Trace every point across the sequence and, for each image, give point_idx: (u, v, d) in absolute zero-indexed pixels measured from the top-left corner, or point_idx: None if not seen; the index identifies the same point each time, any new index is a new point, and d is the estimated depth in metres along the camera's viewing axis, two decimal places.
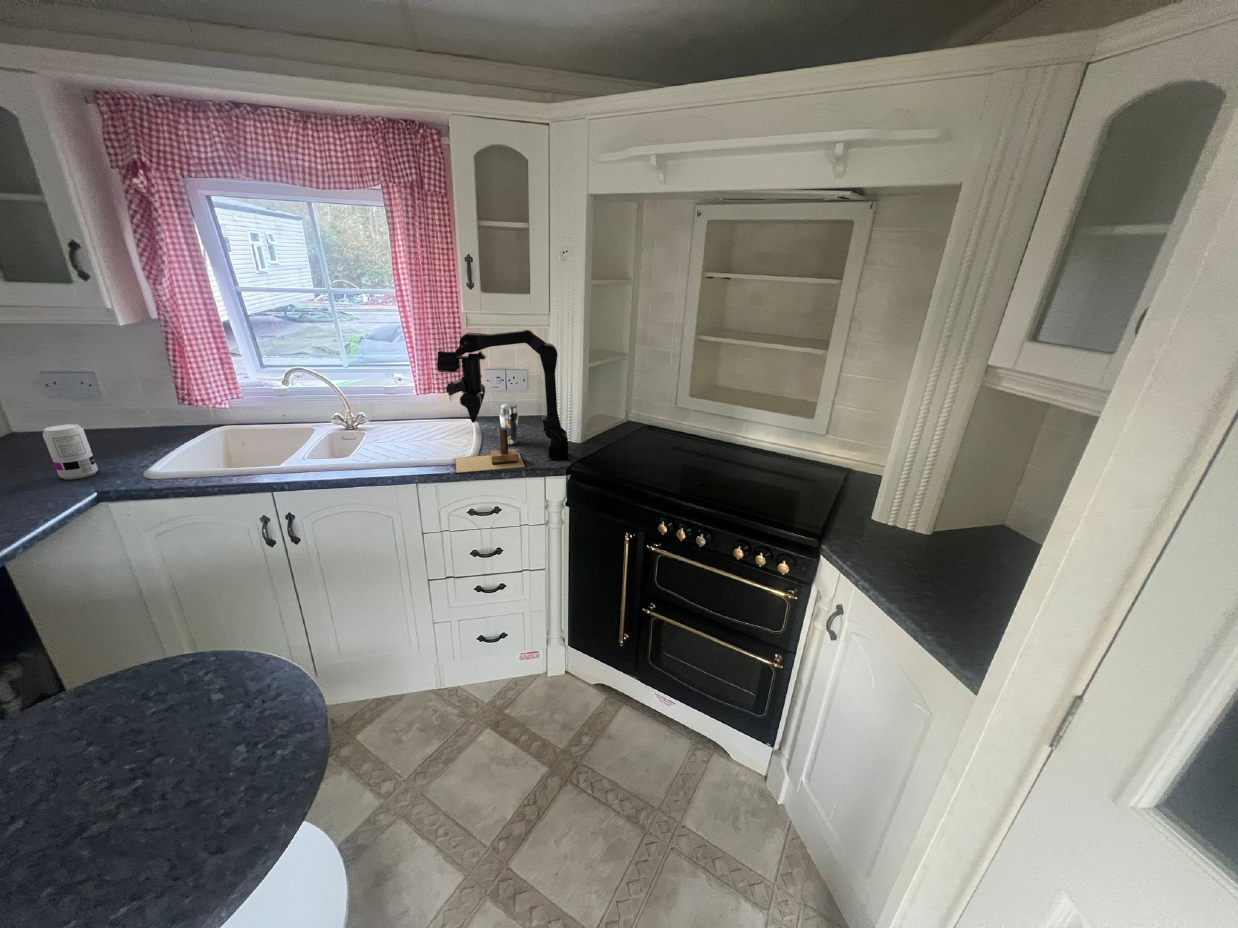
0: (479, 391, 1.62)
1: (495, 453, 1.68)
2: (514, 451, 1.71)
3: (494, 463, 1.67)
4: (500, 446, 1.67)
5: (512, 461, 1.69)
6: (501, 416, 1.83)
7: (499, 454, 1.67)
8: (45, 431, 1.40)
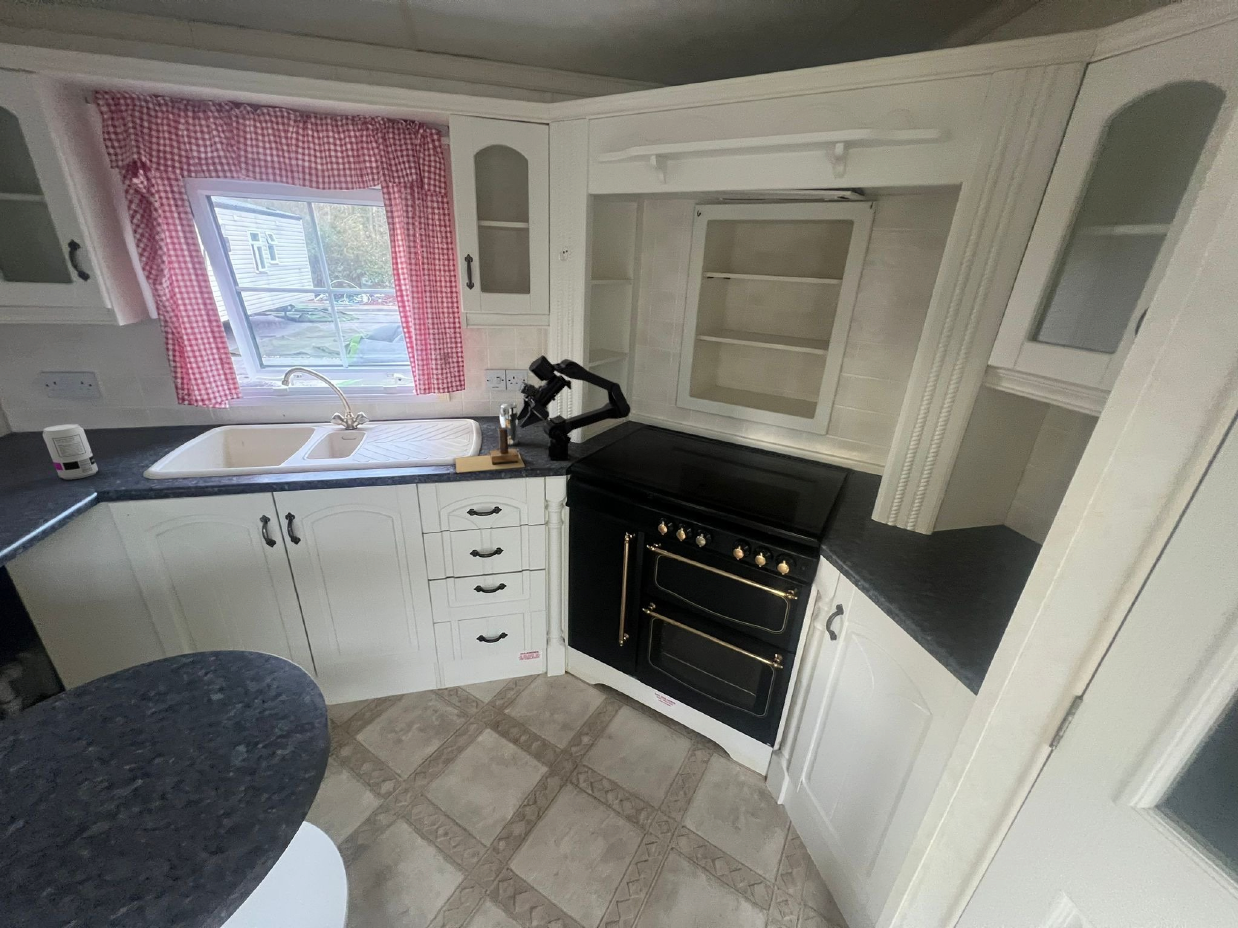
0: (545, 408, 1.66)
1: (495, 453, 1.68)
2: (514, 451, 1.71)
3: (494, 463, 1.67)
4: (500, 446, 1.67)
5: (512, 461, 1.69)
6: (501, 416, 1.83)
7: (499, 454, 1.67)
8: (45, 431, 1.40)
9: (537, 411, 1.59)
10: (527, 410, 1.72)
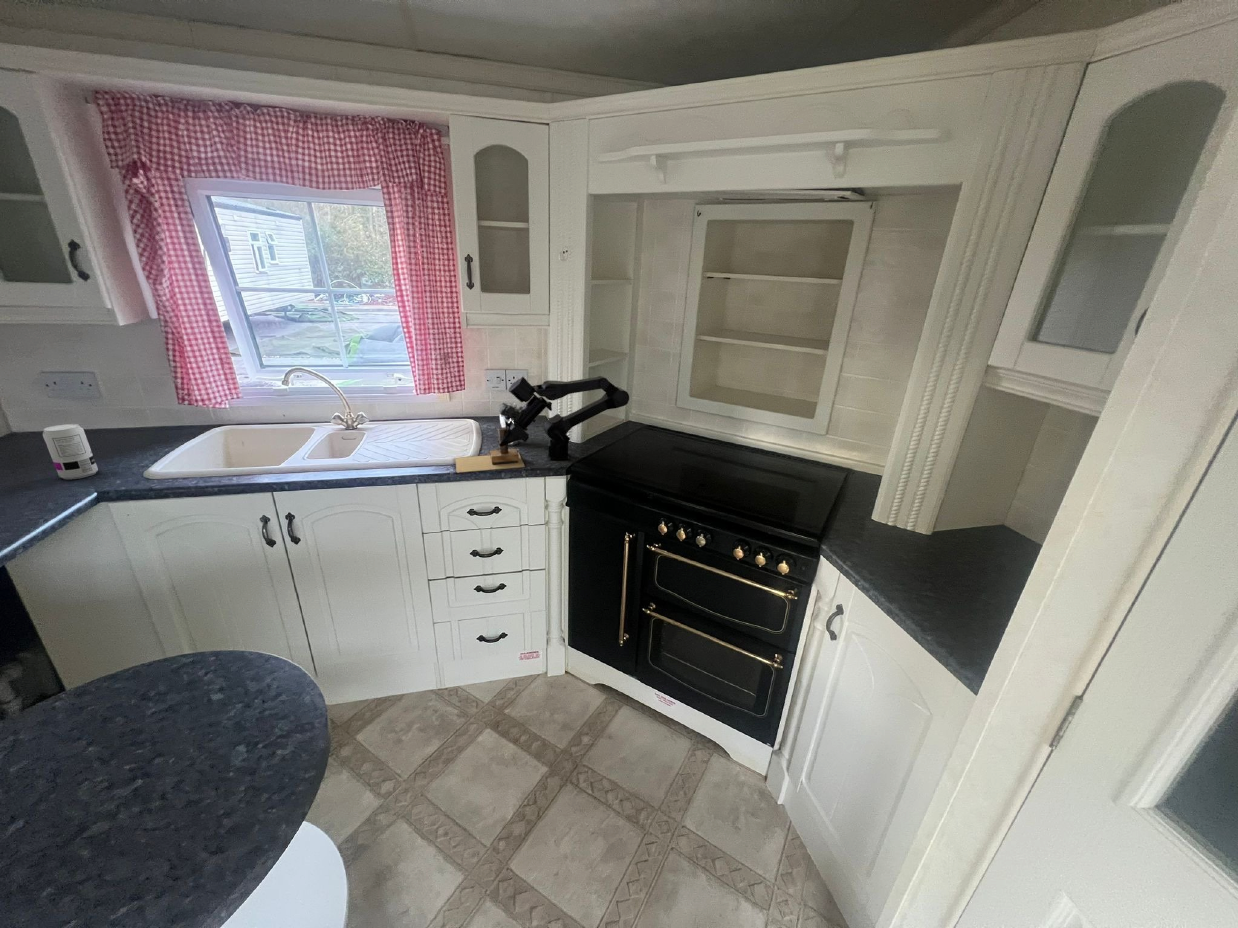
0: (525, 429, 1.67)
1: (495, 453, 1.68)
2: (514, 451, 1.71)
3: (494, 463, 1.67)
4: (500, 446, 1.67)
5: (512, 461, 1.69)
6: (501, 416, 1.83)
7: (499, 454, 1.67)
8: (45, 431, 1.40)
9: (516, 433, 1.59)
10: None
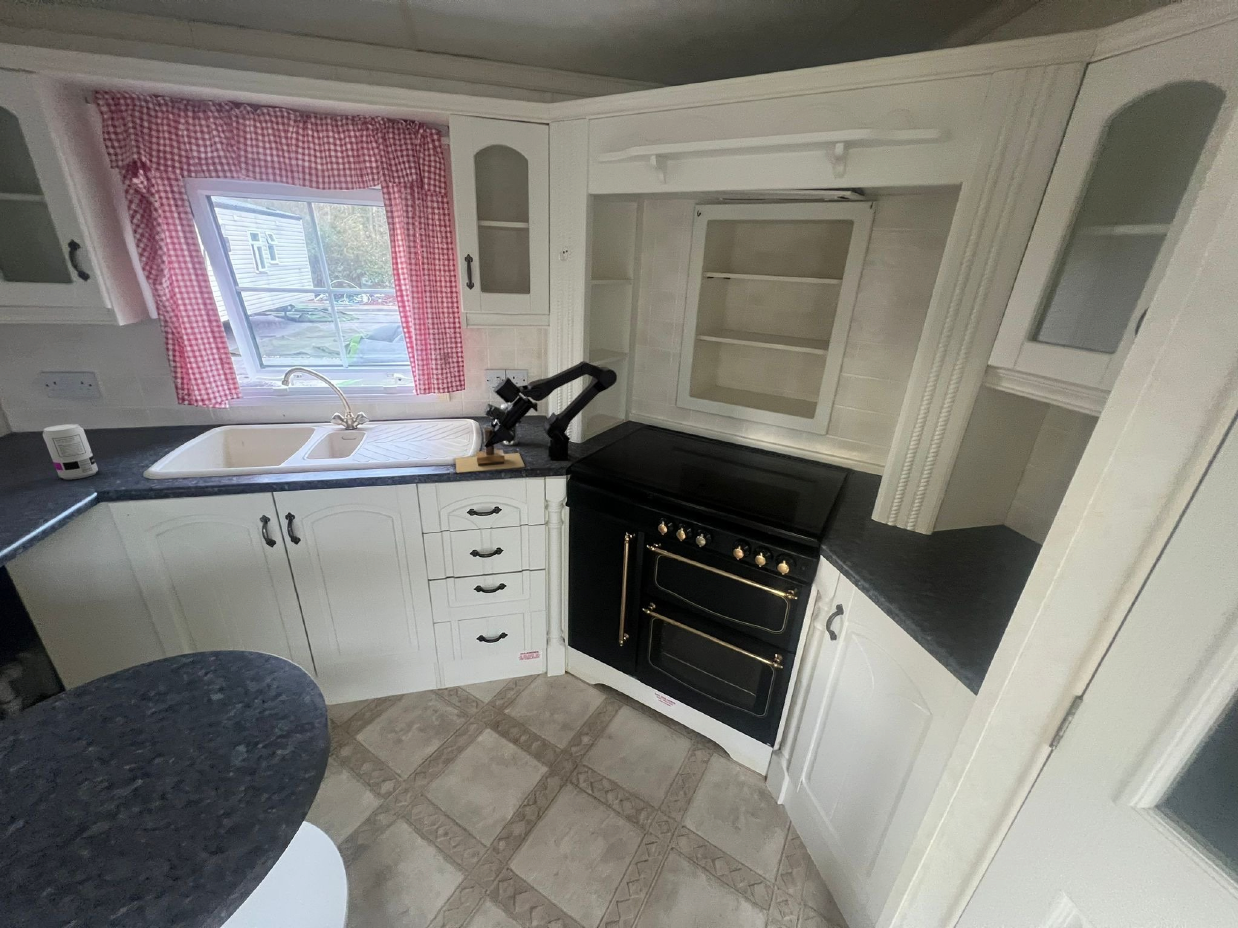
0: (510, 430, 1.65)
1: (481, 454, 1.66)
2: (500, 452, 1.69)
3: (480, 464, 1.65)
4: None
5: (498, 462, 1.67)
6: None
7: (485, 455, 1.66)
8: (45, 431, 1.40)
9: (501, 434, 1.58)
10: None
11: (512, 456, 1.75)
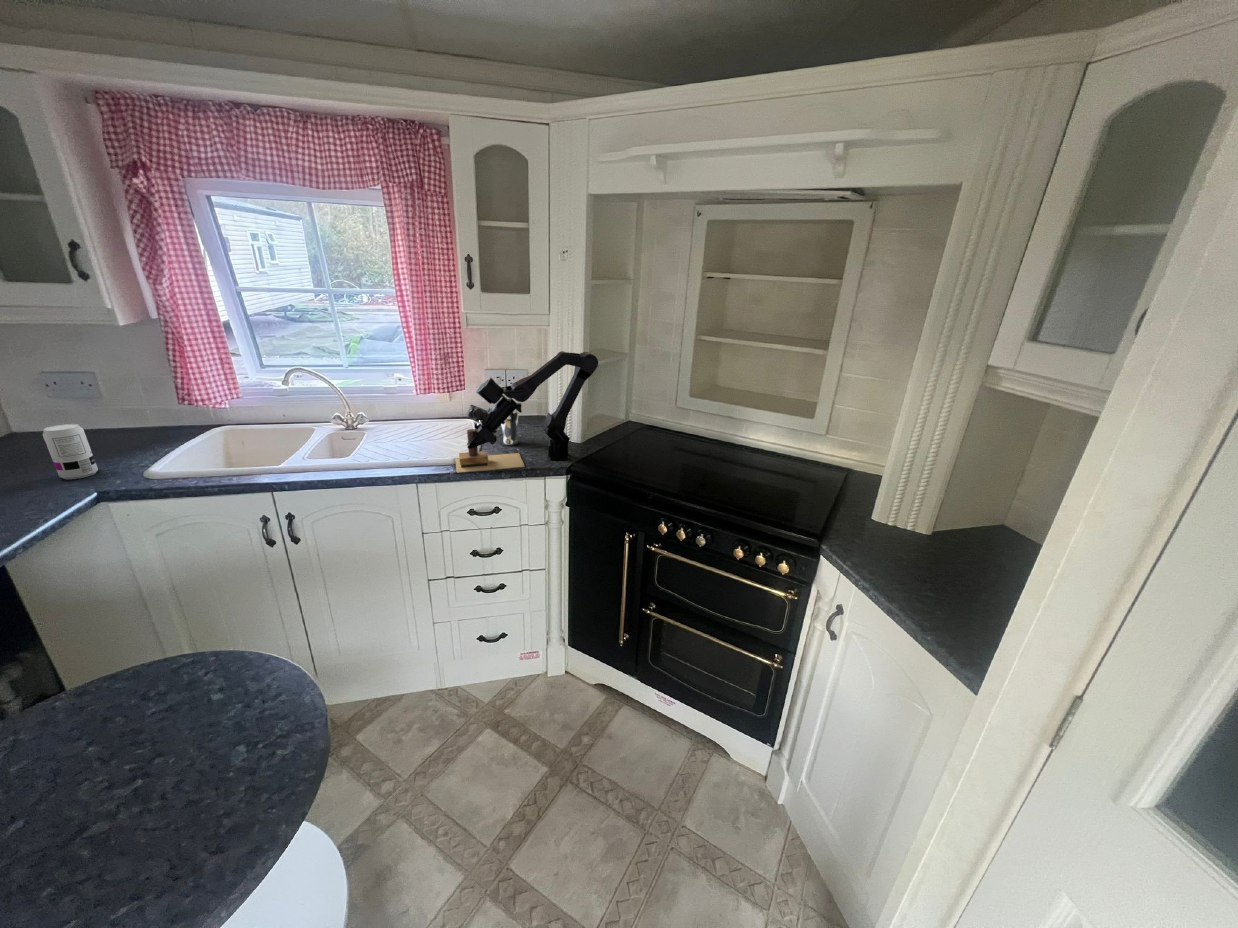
0: (494, 431, 1.63)
1: (464, 456, 1.65)
2: (484, 453, 1.68)
3: (463, 466, 1.64)
4: None
5: (481, 464, 1.65)
6: None
7: (468, 456, 1.64)
8: (45, 431, 1.40)
9: (484, 435, 1.56)
10: None
11: (512, 456, 1.75)
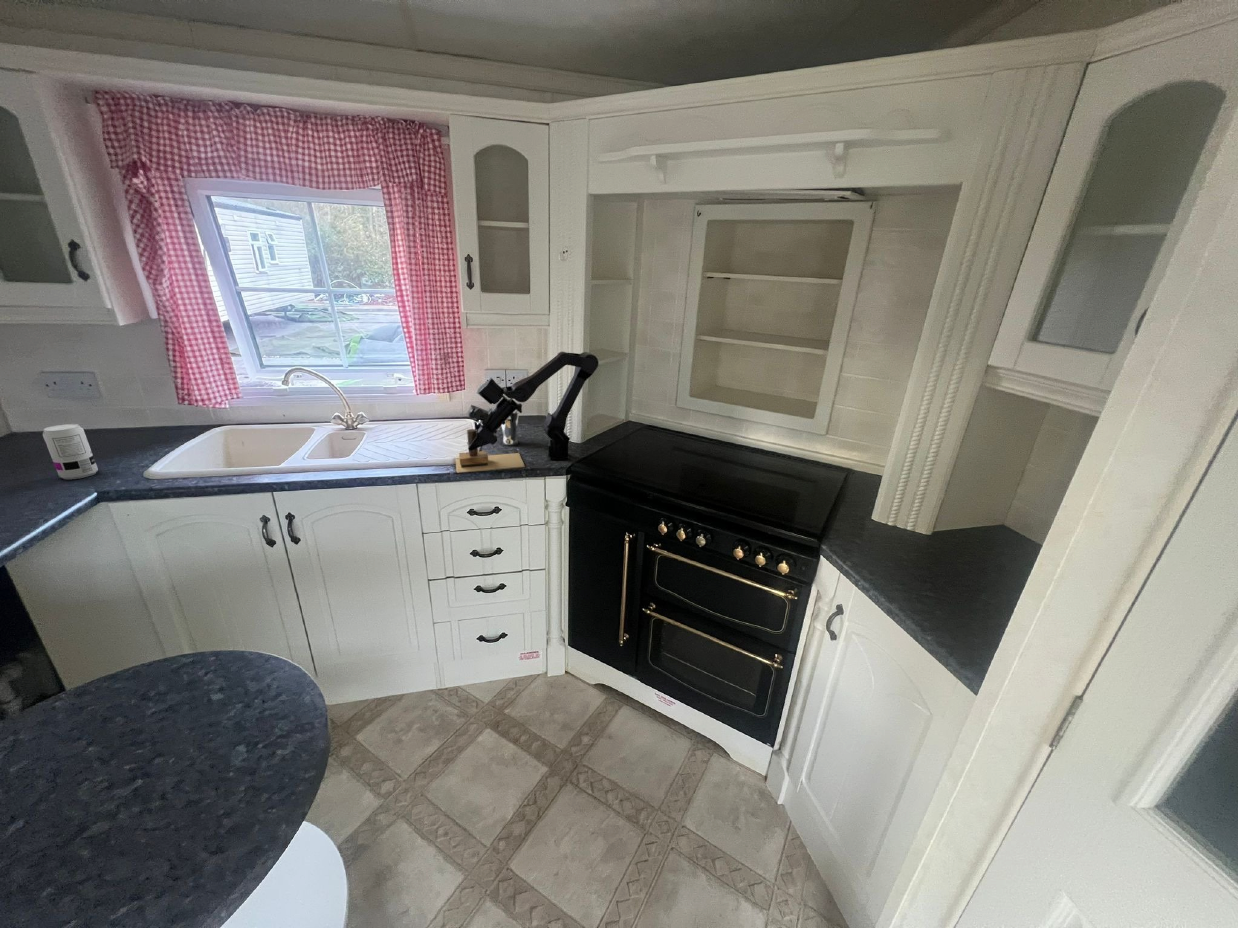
0: (494, 432, 1.64)
1: (464, 456, 1.65)
2: (484, 453, 1.68)
3: (463, 466, 1.64)
4: None
5: (481, 464, 1.65)
6: None
7: (468, 456, 1.64)
8: (45, 431, 1.40)
9: (484, 436, 1.56)
10: None
11: (512, 456, 1.75)
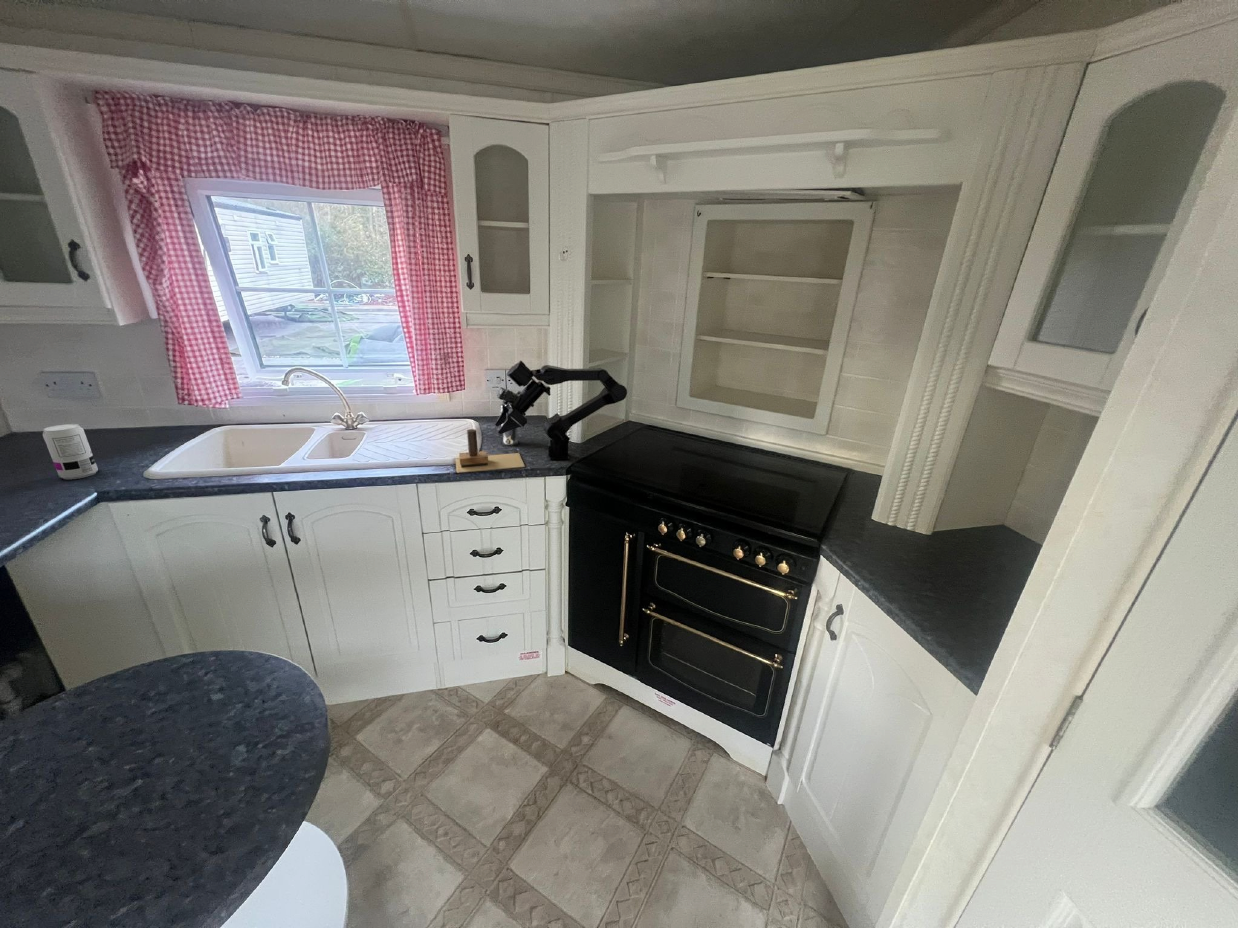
0: (523, 414, 1.65)
1: (464, 456, 1.65)
2: (484, 453, 1.68)
3: (463, 466, 1.64)
4: (469, 448, 1.64)
5: (481, 464, 1.65)
6: None
7: (468, 456, 1.64)
8: (45, 431, 1.40)
9: (514, 417, 1.57)
10: (506, 416, 1.70)
11: (512, 456, 1.75)
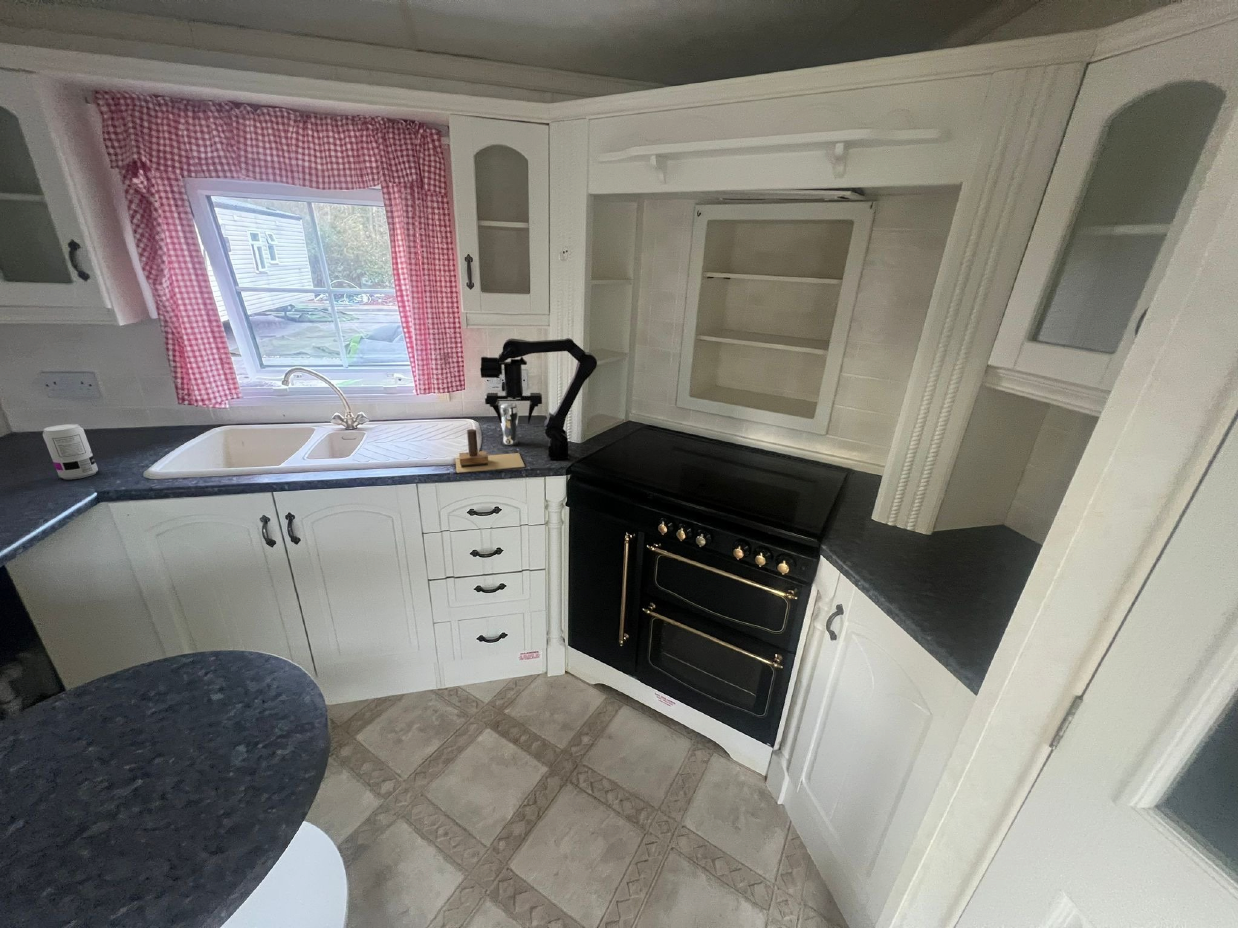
0: (506, 396, 1.64)
1: (464, 456, 1.65)
2: (484, 453, 1.68)
3: (463, 466, 1.64)
4: (469, 448, 1.64)
5: (481, 464, 1.65)
6: None
7: (468, 456, 1.64)
8: (45, 431, 1.40)
9: None
10: None
11: (512, 456, 1.75)
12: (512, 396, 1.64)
